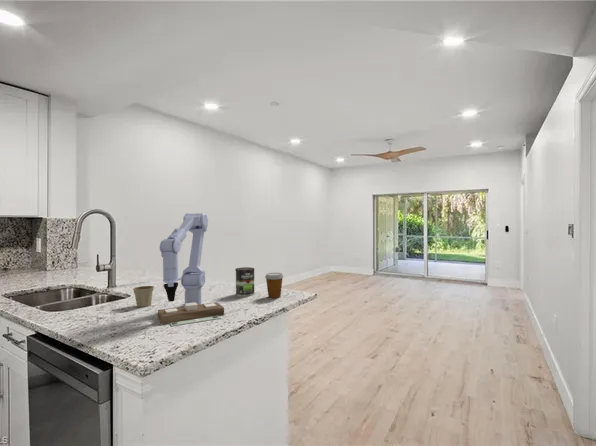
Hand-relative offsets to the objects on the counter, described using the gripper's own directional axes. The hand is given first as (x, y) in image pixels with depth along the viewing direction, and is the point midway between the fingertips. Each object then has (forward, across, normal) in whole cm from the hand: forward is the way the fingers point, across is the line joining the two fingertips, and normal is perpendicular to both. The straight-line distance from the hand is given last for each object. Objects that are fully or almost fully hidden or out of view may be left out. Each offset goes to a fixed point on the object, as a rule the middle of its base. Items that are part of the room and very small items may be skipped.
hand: (171, 301), depth 136 cm
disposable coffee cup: (+8, +21, -50) cm, 55 cm away
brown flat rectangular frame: (+7, +1, -8) cm, 11 cm away
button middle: (+6, +1, -8) cm, 10 cm away
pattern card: (+7, -7, -9) cm, 14 cm away
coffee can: (+8, +33, -37) cm, 50 cm away
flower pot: (+8, +28, +12) cm, 32 cm away
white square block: (+7, +2, -16) cm, 17 cm away
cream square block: (+7, 0, 0) cm, 7 cm away
